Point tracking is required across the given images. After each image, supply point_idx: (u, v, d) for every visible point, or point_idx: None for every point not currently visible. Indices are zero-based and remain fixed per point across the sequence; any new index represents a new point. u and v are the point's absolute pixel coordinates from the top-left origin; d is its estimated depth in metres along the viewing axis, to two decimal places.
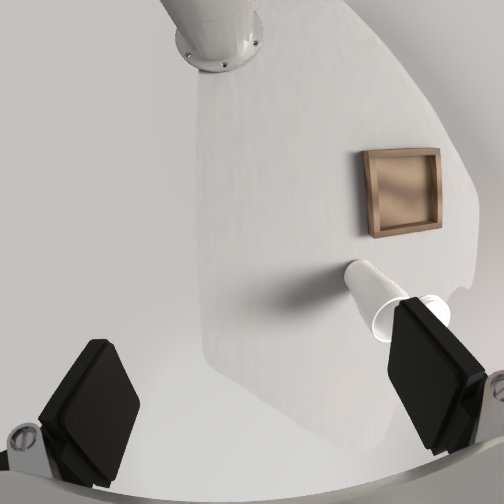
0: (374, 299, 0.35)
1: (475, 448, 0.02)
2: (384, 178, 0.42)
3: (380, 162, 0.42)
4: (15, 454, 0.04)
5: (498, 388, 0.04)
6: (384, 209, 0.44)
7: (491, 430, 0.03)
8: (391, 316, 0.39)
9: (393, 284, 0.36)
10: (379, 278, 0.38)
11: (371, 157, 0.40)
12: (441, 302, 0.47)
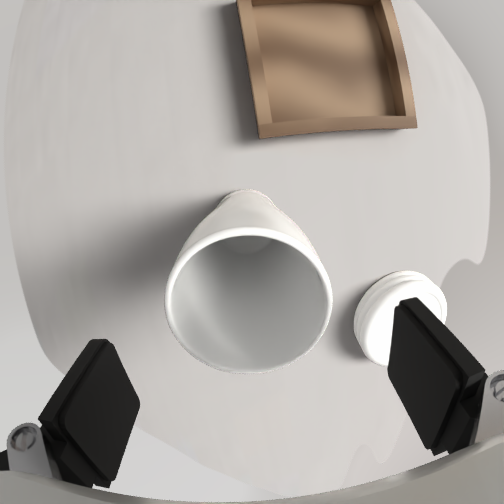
0: (186, 242, 0.13)
1: (475, 448, 0.02)
2: (281, 36, 0.20)
3: (272, 12, 0.19)
4: (15, 454, 0.04)
5: (498, 388, 0.04)
6: (286, 89, 0.21)
7: (491, 430, 0.03)
8: (284, 303, 0.17)
9: (261, 207, 0.14)
10: (239, 200, 0.16)
11: None
12: (429, 284, 0.25)
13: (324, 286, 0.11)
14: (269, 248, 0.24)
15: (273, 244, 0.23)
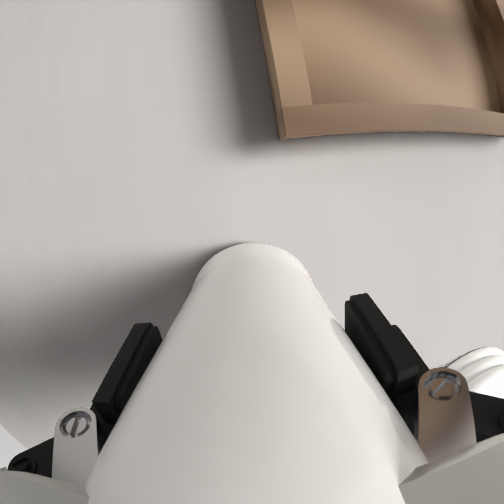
0: None
1: (475, 448, 0.02)
2: None
3: None
4: (67, 441, 0.05)
5: (434, 387, 0.05)
6: (333, 45, 0.10)
7: (417, 426, 0.04)
8: None
9: None
10: (237, 379, 0.04)
11: None
12: None
13: None
14: None
15: None
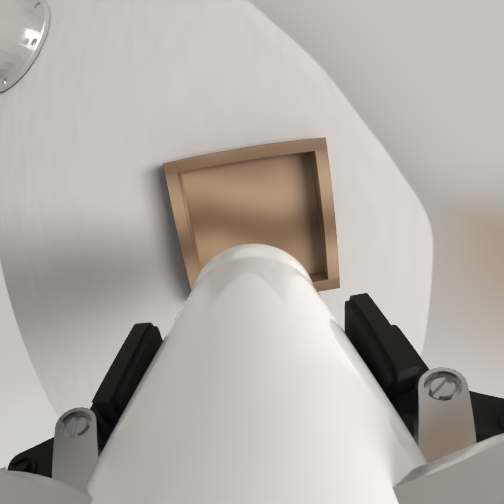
0: None
1: (475, 448, 0.02)
2: (213, 205, 0.26)
3: (203, 178, 0.25)
4: (67, 441, 0.05)
5: (434, 387, 0.05)
6: None
7: (417, 426, 0.04)
8: None
9: None
10: (238, 381, 0.04)
11: (170, 173, 0.23)
12: None
13: None
14: None
15: None
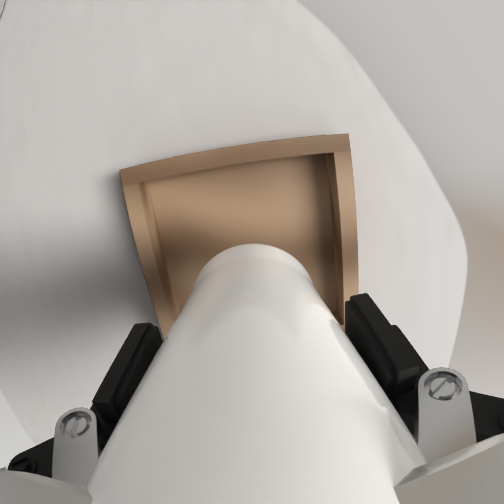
0: None
1: (475, 448, 0.02)
2: (190, 226, 0.19)
3: (176, 188, 0.18)
4: (68, 440, 0.05)
5: (434, 387, 0.05)
6: None
7: (416, 426, 0.04)
8: None
9: None
10: (238, 382, 0.04)
11: (129, 183, 0.16)
12: None
13: None
14: None
15: None
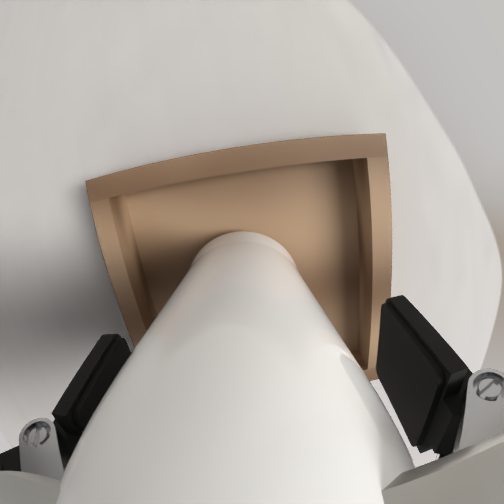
0: None
1: (475, 448, 0.02)
2: (178, 251, 0.15)
3: (160, 203, 0.14)
4: (28, 450, 0.04)
5: (481, 387, 0.05)
6: None
7: (472, 428, 0.04)
8: None
9: (288, 408, 0.03)
10: (219, 320, 0.06)
11: (97, 198, 0.12)
12: None
13: None
14: None
15: None
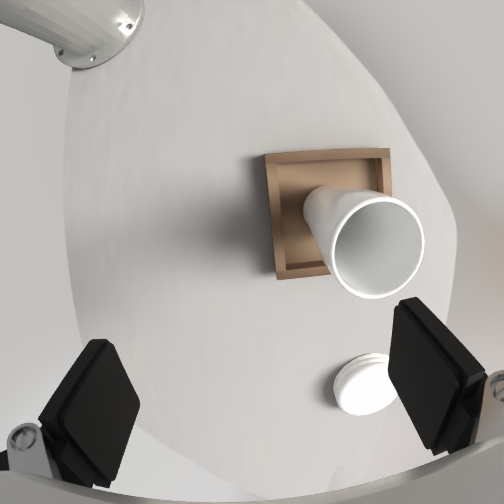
0: (337, 207, 0.19)
1: (475, 448, 0.02)
2: (298, 193, 0.31)
3: (292, 170, 0.31)
4: (15, 454, 0.04)
5: (498, 388, 0.04)
6: (298, 238, 0.33)
7: (491, 430, 0.03)
8: (376, 261, 0.23)
9: None
10: None
11: (270, 162, 0.29)
12: None
13: (421, 237, 0.17)
14: (347, 231, 0.30)
15: (351, 228, 0.30)
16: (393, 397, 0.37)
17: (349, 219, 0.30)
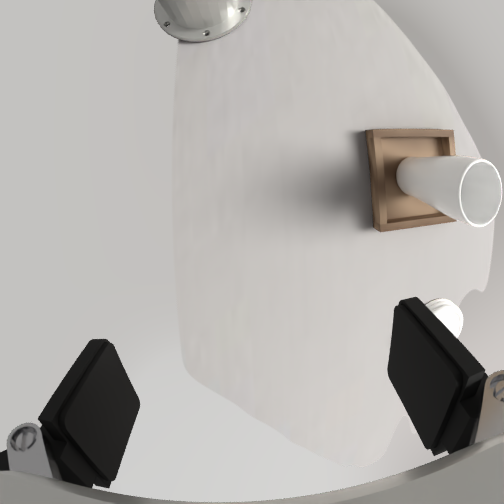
0: (453, 165, 0.23)
1: (475, 448, 0.02)
2: (391, 162, 0.36)
3: (387, 144, 0.35)
4: (15, 454, 0.04)
5: (498, 388, 0.04)
6: (391, 198, 0.37)
7: (491, 430, 0.03)
8: (465, 208, 0.27)
9: None
10: None
11: (376, 136, 0.33)
12: (454, 307, 0.40)
13: (500, 186, 0.22)
14: None
15: None
16: (456, 337, 0.42)
17: None
